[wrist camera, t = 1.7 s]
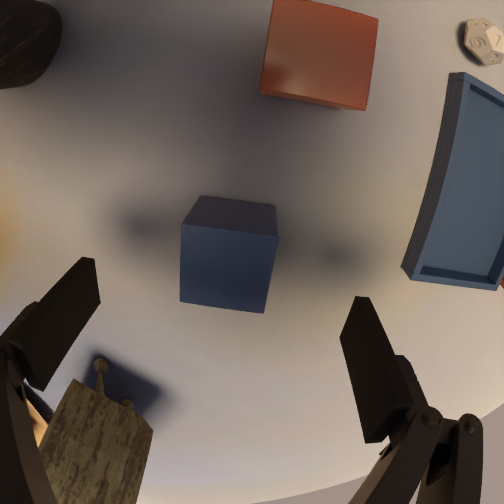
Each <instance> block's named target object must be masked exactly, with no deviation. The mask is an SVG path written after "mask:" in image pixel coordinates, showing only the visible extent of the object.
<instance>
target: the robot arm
mask: <svg viewBox="0 0 504 504" xmlns="http://www.w3.org/2000/svg"><path fill="white" fill-rule="evenodd" d="M100 303H101V302H100V296H99V290H98V283H97V276H96V268H95V260H94V259H92V258H87V257H81V258H80V259H79V260H78V261H77V262H76V263H75V264H74V265H73V266H72V267H71V268H70V269H69V270H68V271H67V272H66V274H65V275H64V276H63V277H62V278H61V279H60V280H59V281H58V282H57V283H56V284H55V285H54V286H53V287H52V288H51V289H50V290H49V291H48V293H47V294H46V295H45V296H44V297H43V298H42V299H41V300H40V301H39V302H36V301H34V302H33V303H31V304H29V305H28V306H26V307H25V308H24V309H23V311H22V312H21V313H20V315H18V316H17V317H16V318H15V320H14V321H13V322H12V323H11V324H10V325H9V327H8V328H7V329H6V330H5V331H4V332H3V334H2V335H1V336H0V504H58V502H57V500H56V498H55V495H54V493H53V490H52V488H51V485H50V482H49V480H48V477H47V474H46V471H45V468H44V465H43V462H42V459H41V456H40V453H39V449H38V446H37V442H36V439H35V435H34V431H33V427H32V423H31V419H30V414H29V410H28V405H27V400H26V395H25V389H24V386H23V384H22V382H23V380H24V379H25V378H26V380H27V381H28V383H29V385H30V386H31V387H33V388H35V389H38V390H40V391H42V392H43V391H44V390H45V388H46V386H47V385H48V383H49V381H50V380H51V378H52V376H53V375H54V373H55V371H56V370H57V368H58V366H59V365H60V363H61V362H62V360H63V358H64V357H65V355H66V354H67V352H68V351H69V349H70V347H71V346H72V344H73V343H74V341H75V340H76V338H77V337H78V335H79V334H80V332H81V331H82V329H83V328H84V326H85V325H86V323H87V322H88V320H89V319H90V317H91V316H92V314H93V313H94V312H95V310H96V309H97V307H98V306H99V304H100ZM339 338H340V342H341V345H342V349H343V353H344V357H345V360H346V364H347V368H348V372H349V376H350V380H351V384H352V388H353V392H354V396H355V400H356V405H357V409H358V413H359V418H360V422H361V427H362V431H363V436H364V440H365V444H367V443H379V442H382V441H383V440H384V439H385V438H386V437H387V436H388V435H389V439H390V443H389V444H388V445H387V446H386V447H385V448H384V449H383V450H382V451H381V452H380V453H379V455H381V456H380V458H379V460H378V461H377V463H376V464H375V466H374V467H373V469H372V471H371V472H370V474H369V475H368V477H367V478H366V480H365V481H364V482H363V484H362V485H361V487H360V488H359V490H358V491H357V492H356V494H355V495H354V496H353V498H352V499H351V501H350V502H349V503H348V504H409V502H410V500H411V498H412V497H413V495H414V493H415V491H416V489H417V487H418V485H419V483H420V481H421V483H420V488H419V492H418V497H417V501H416V504H480V497H481V486H482V470H483V427H482V423H481V421H480V420H479V419H478V418H477V417H476V416H475V415H473V414H464V415H462V416H461V418H460V419H459V420H458V421H457V420H451V419H446V418H443V416H442V415H441V413H440V412H439V411H438V410H437V409H435V408H433V407H430V406H429V405H428V403H427V401H426V398H425V396H424V393H423V391H422V389H421V386H420V384H419V381H417V377H416V375H415V374H414V370H413V368H412V365H411V363H410V362H409V361H408V360H407V359H406V358H405V357H404V356H403V355H395V354H394V351H393V349H392V347H391V344H390V342H389V340H388V337H387V335H386V333H385V331H384V328H383V326H382V324H381V322H380V320H379V317H378V315H377V313H376V311H375V309H374V307H373V304H372V302H371V300H370V298H369V297H360V296H355V299H354V301H353V304H352V307H351V309H350V312H349V315H348V317H347V320H346V322H345V325H344V327H343V330H342V333H341V335H340V337H339Z"/></svg>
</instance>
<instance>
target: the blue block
mask: <svg viewBox="0 0 504 504" xmlns="http://www.w3.org/2000/svg"><path fill="white" fill-rule="evenodd" d="M278 238H279V236H278V226H277V216H276V207H275V206H273V205H267V204H260V203H253V202H246V201H238V200H231V199H223V198H215V197H207V196H200V197H199V198H198V200H197V201H196V203H195V204H194V206H193V207H192V209H191V210H190V212H189V213H188V215H187V217H186V218H185V220H184V221H183V223H182V227H181V254H180V302H185V303H191V304H198V305H204V306H211V307H217V308H224V309H231V310H239V311H246V312H254V313H262V314H263V313H264V309H265V305H266V300H267V295H268V290H269V285H270V280H271V274H272V269H273V264H274V259H275V254H276V249H277V244H278Z"/></svg>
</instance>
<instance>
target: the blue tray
mask: <svg viewBox="0 0 504 504" xmlns="http://www.w3.org/2000/svg"><path fill="white" fill-rule="evenodd" d="M401 267H402V269H403V270H404V271H405V273H406V274H407V276H408V277H409V279H410V280H414V281H422V282H429V283H437V284H445V285H453V286H461V287H469V288H477V289H485V290H493V291H497V289H498V287H499V285H500V282H501V280H502V278H503V276H504V95H503V94H502V93H500V92H498V91H497V90H495V89H494V88H492V87H490V86H489V85H487V84H485V83H484V82H482V81H480V80H478V79H477V78H475V77H473V76H471V75H469V74H467V73H466V72H458V73H449V81H448V89H447V96H446V102H445V108H444V114H443V120H442V125H441V130H440V135H439V140H438V144H437V149H436V153H435V158H434V162H433V166H432V170H431V174H430V178H429V182H428V185H427V189H426V193H425V196H424V200H423V203H422V206H421V210H420V213H419V216H418V219H417V222H416V226H415V229H414V232H413V235H412V238H411V241H410V243H409V246H408V249H407V252H406V255H405V257H404V260H403V263H402V265H401Z"/></svg>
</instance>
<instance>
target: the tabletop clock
mask: <svg viewBox="0 0 504 504" xmlns="http://www.w3.org/2000/svg"><path fill="white" fill-rule="evenodd" d="M94 369H95V371H97V372H98V377H97V384H96V390H95V391H94V390H92V389H91V388H89V387H87V386H85V385H84V384H82V383H80V382H79V381H77V380H75V379H73V380H72V382H71V384H70V385H69V387H68V389H67V390H66V392H65V394H64V396H63V398H62V399H61V401H60V403H59V405H58V407H57V409H56V411H55V413H54V415H53V417H52V419H51V421H50V423H49V425H48V427H47V429H46V431H45V433H44V436H43V438H42V440H41V442H40V444H39V447H38V449H39V453H40V456H41V459H42V462H43V465H44V468H45V471H46V474H47V477H48V480H49V482H50V485H51V488H52V490H53V493H54V495H55V498H56V500H57V502H58V504H136V501H137V497H138V493H139V490H140V486H141V482H142V478H143V474H144V470H145V466H146V462H147V458H148V454H149V450H150V445H151V441H152V435H153V430H152V429H151V427H150V426H149V425H148V424H147V422H146V421H145V420H144V418H143V417H142V416H141V415H140V414H138V413H136V412H134V411H132V410H133V409H134V403H133V401H132V400H130V399H124V400H123V401H122V402H121V405H120V404H118V403H116V402H114V401H112V400H110V399H109V398H107V397H106V396H105V393H104V386H103V373H105V372H106V371H107V370H108V363H107V361H106V360H104V359H102V358H99V359H97V360H95V362H94Z"/></svg>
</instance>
